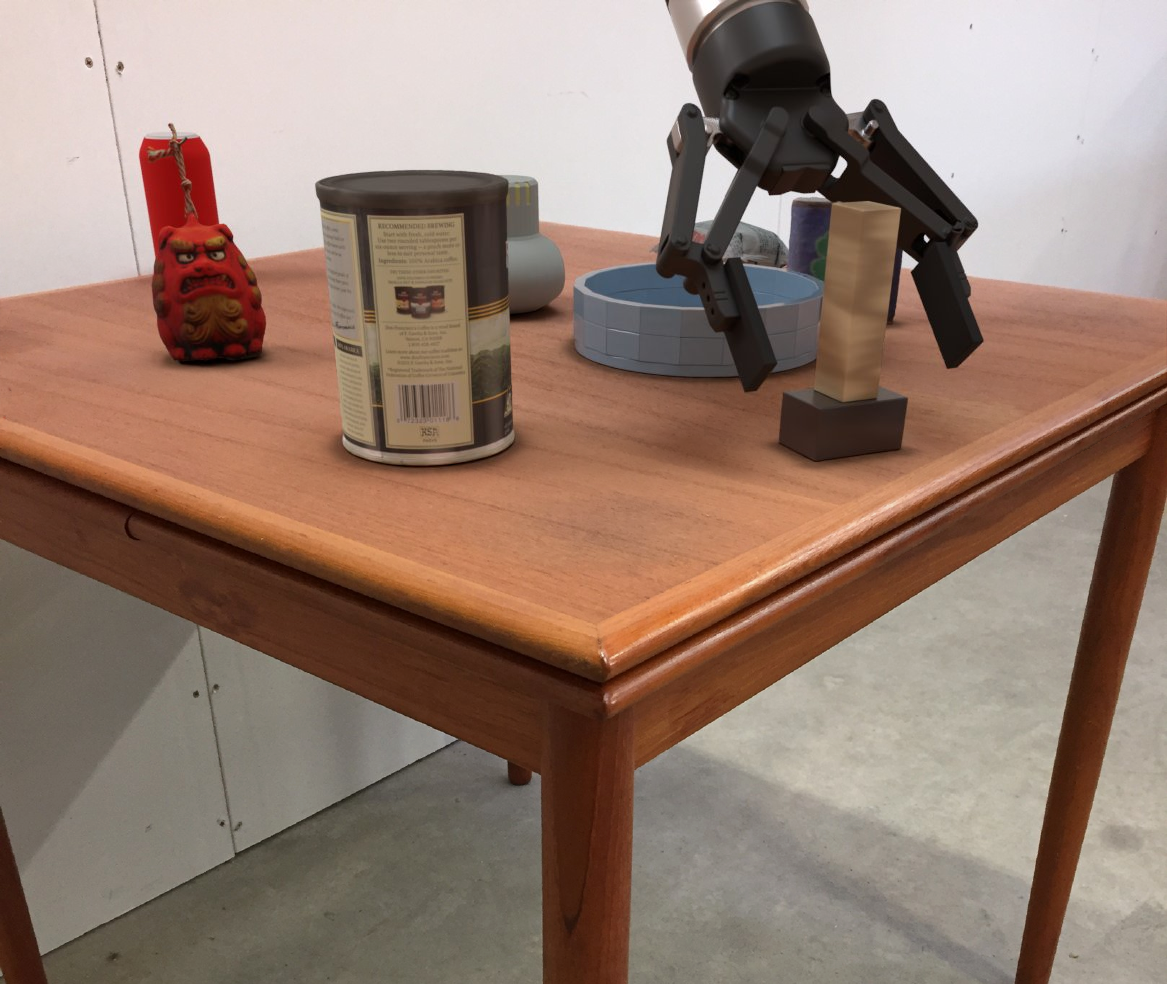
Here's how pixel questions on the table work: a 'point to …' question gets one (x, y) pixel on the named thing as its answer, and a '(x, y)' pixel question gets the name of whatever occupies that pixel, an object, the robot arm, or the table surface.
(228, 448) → the table surface
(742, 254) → the packaged food
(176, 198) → the beverage can
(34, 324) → the table surface
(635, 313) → the bowl
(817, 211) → the flask
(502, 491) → the table surface
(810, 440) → the brush
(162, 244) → the red clay folk toy
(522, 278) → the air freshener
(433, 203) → the coffee can
